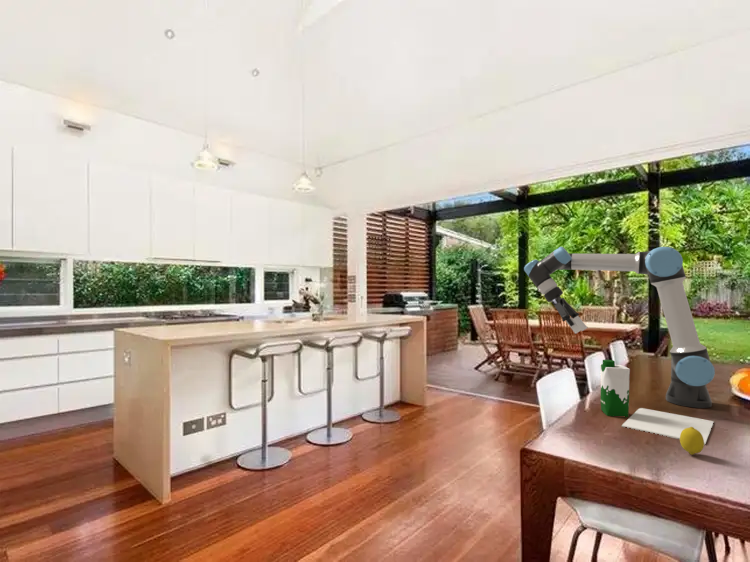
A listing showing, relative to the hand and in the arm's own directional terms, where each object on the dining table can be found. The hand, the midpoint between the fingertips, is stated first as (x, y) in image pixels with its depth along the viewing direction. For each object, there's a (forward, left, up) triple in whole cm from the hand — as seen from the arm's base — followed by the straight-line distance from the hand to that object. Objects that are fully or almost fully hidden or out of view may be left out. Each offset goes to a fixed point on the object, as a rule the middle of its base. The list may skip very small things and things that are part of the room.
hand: (581, 330), depth 178 cm
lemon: (-42, +40, -29) cm, 65 cm away
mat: (-33, +14, -29) cm, 46 cm away
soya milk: (-16, +14, -29) cm, 36 cm away
